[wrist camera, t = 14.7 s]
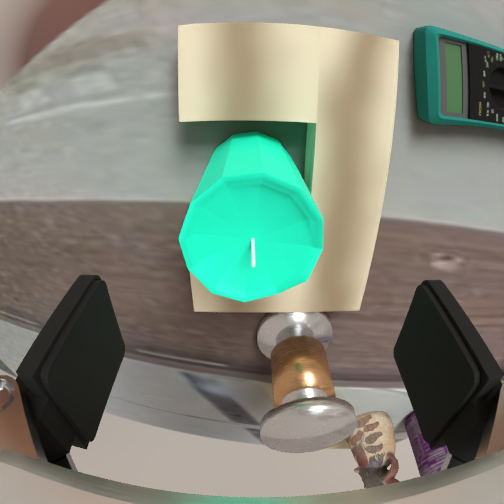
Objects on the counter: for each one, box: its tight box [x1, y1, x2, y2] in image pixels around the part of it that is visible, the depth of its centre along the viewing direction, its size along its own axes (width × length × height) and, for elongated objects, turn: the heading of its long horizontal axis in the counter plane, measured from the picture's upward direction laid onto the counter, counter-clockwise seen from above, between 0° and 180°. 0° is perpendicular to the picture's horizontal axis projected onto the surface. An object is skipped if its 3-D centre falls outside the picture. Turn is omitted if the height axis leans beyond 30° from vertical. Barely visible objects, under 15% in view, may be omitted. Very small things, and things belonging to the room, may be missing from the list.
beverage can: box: [405, 413, 448, 476], centre depth 35 cm, size 7×7×12 cm
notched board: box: [178, 22, 399, 312], centre depth 21 cm, size 13×20×3 cm, turn 179°
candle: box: [179, 131, 323, 302], centre depth 17 cm, size 6×6×12 cm
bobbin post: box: [257, 312, 357, 453], centre depth 25 cm, size 7×7×11 cm
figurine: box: [346, 411, 399, 489], centre depth 35 cm, size 7×7×12 cm
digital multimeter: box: [414, 26, 504, 130], centre depth 17 cm, size 7×15×3 cm, turn 95°
